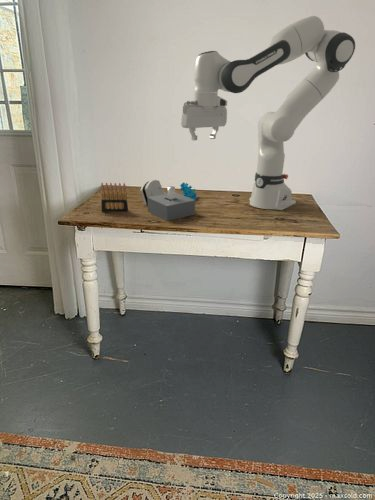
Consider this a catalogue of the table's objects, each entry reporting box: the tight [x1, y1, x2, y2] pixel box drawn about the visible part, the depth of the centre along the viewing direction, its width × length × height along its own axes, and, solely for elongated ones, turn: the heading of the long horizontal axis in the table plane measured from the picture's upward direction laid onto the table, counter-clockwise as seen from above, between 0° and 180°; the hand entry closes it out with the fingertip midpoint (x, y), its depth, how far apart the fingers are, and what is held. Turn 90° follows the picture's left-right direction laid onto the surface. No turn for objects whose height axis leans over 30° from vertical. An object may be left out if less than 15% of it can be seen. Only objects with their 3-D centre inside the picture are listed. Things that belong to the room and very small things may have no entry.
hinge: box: [139, 179, 167, 206], centre depth 158 cm, size 17×5×10 cm, turn 163°
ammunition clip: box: [100, 182, 129, 213], centre depth 141 cm, size 11×2×12 cm, turn 94°
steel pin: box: [167, 185, 176, 201], centre depth 141 cm, size 3×3×10 cm
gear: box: [179, 182, 198, 201], centre depth 161 cm, size 11×6×10 cm
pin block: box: [147, 192, 196, 222], centre depth 142 cm, size 14×14×6 cm
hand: (203, 139), depth 134 cm, fingers open, 8 cm apart
